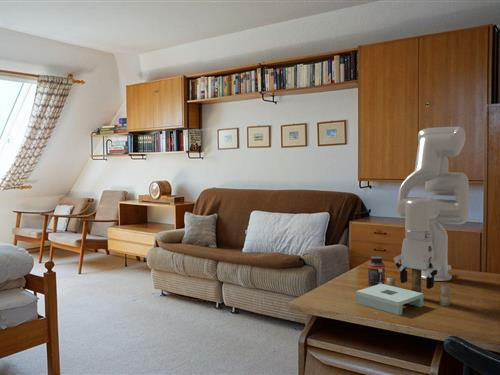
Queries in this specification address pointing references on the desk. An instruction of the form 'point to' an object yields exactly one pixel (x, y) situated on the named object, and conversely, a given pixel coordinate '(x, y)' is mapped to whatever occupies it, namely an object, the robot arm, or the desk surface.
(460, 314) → the desk surface
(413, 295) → the hole board
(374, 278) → the supplement bottle
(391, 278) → the short pin
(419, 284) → the long pin
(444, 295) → the medium pin
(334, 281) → the desk surface
